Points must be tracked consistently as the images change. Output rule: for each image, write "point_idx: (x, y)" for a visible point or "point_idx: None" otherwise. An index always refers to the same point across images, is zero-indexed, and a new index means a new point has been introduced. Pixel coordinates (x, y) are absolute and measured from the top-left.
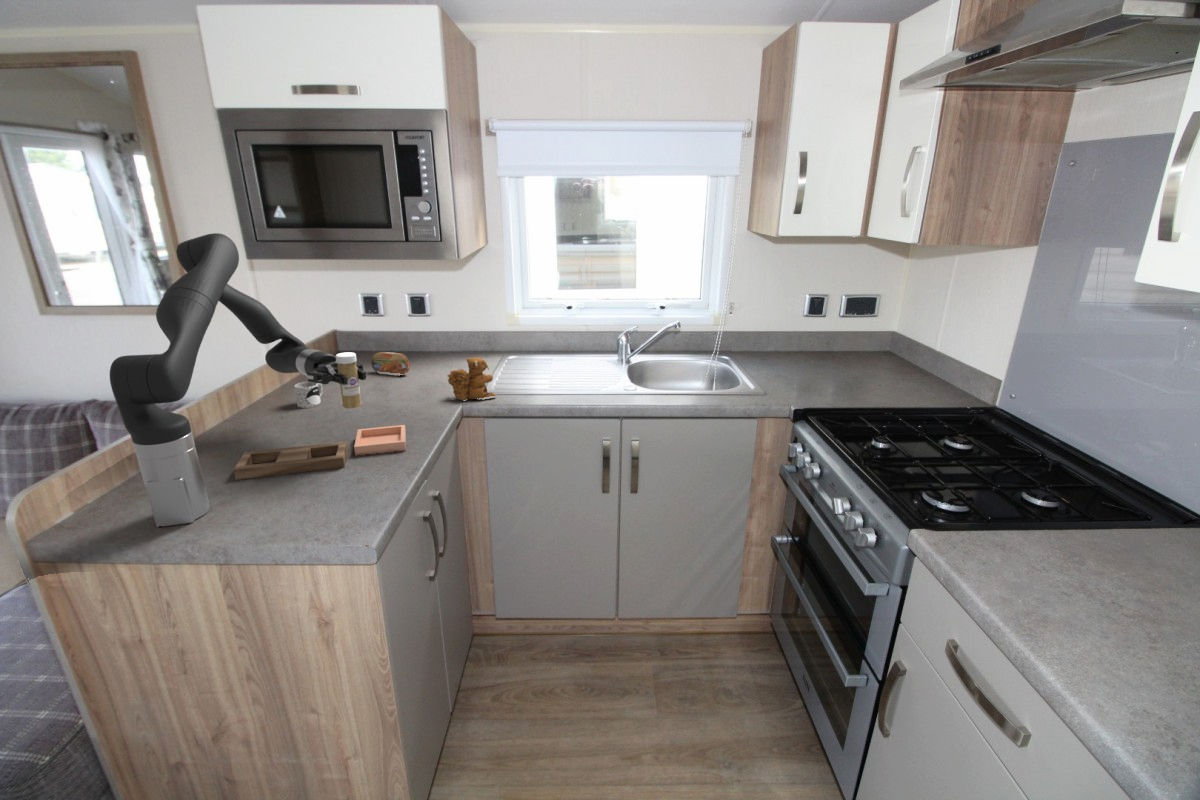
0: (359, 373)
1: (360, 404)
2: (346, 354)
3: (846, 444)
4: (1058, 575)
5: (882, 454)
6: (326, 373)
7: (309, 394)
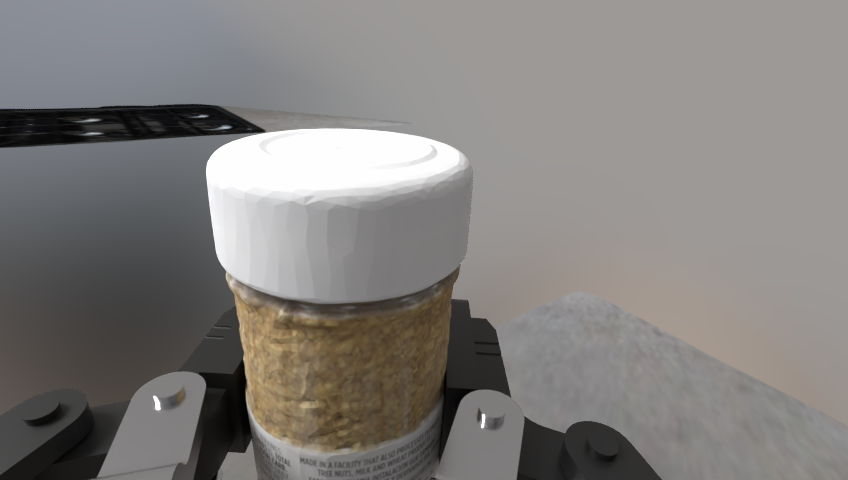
0: None
1: None
2: (347, 144)
3: (93, 140)
4: (294, 120)
5: (121, 133)
6: (573, 449)
7: None
